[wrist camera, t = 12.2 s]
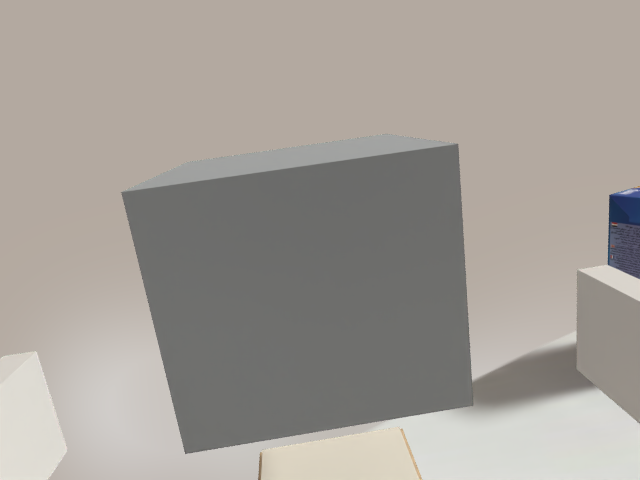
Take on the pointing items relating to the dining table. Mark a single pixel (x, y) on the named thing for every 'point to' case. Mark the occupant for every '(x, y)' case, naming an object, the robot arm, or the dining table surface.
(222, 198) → the grey matte cube
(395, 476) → the carton base
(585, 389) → the dining table surface
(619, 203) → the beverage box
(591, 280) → the robot arm
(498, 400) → the dining table surface
